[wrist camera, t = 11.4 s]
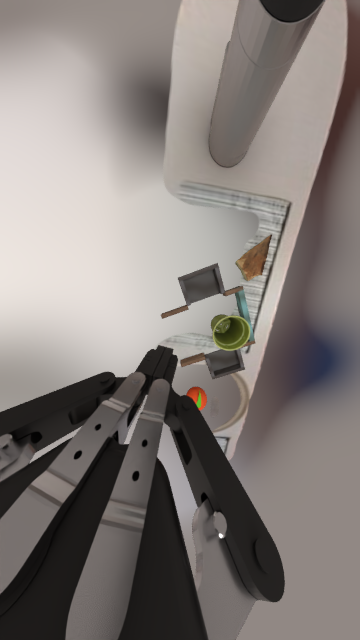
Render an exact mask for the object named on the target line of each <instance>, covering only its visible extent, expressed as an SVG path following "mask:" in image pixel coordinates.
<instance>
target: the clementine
mask: <svg viewBox="0 0 360 640" xmlns="http://www.w3.org/2000/svg"><path fill="white" fill-rule="evenodd" d="M186 396H189V397H191V398H192V399H193V400H194V402H195V403H196V405H197V407H198V409H199V410H202V409H203V408H204V406H205V405H206V402H207V397H206V394H205V392H204V391H203V389H201V388H200V387H192V388H191V389H189V391H188V392H187V395H186Z"/></svg>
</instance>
